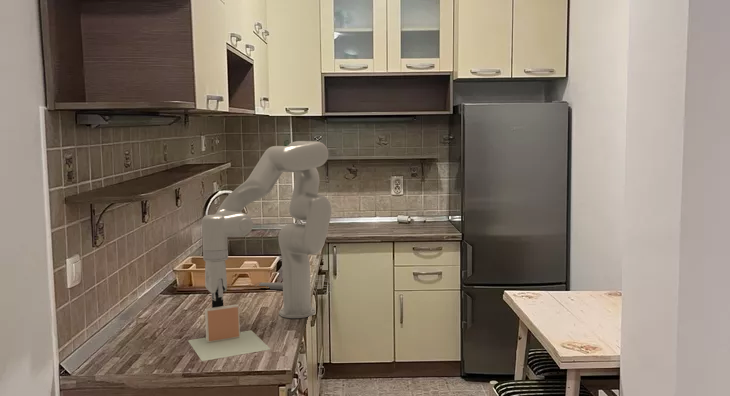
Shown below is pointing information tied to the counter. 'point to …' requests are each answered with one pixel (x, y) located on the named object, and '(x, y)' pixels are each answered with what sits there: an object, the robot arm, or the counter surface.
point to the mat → (228, 346)
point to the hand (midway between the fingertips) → (218, 312)
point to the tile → (222, 323)
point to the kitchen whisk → (280, 285)
